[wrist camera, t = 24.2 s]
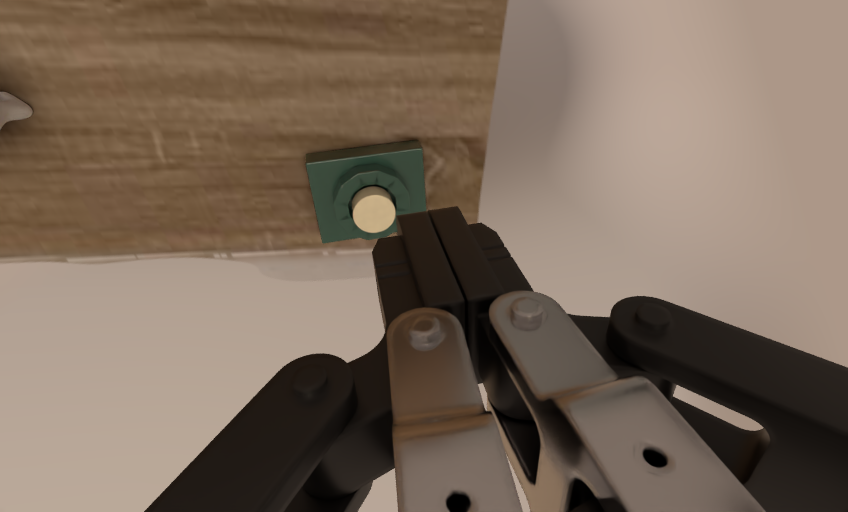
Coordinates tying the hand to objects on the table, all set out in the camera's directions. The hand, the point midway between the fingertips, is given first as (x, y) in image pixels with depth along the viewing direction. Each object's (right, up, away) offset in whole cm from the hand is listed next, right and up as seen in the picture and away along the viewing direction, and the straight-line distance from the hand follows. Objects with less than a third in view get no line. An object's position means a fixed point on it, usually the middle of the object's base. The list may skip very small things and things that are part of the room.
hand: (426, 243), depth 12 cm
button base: (-5, +6, +33) cm, 34 cm away
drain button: (-5, +4, +30) cm, 30 cm away
